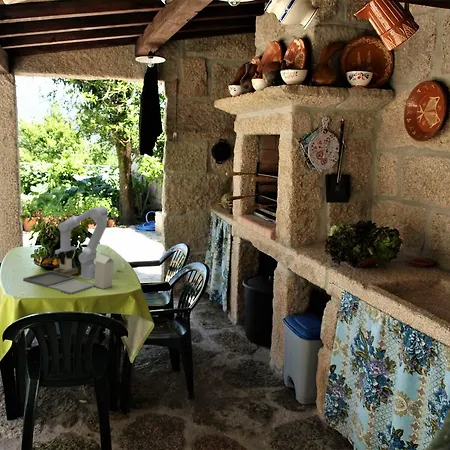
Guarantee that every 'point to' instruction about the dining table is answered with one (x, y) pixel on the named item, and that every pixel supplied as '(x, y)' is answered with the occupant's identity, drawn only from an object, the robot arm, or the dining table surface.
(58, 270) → the stand
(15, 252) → the dining table surface
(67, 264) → the block
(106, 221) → the robot arm
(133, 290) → the dining table surface
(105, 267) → the milk carton
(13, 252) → the dining table surface
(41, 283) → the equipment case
